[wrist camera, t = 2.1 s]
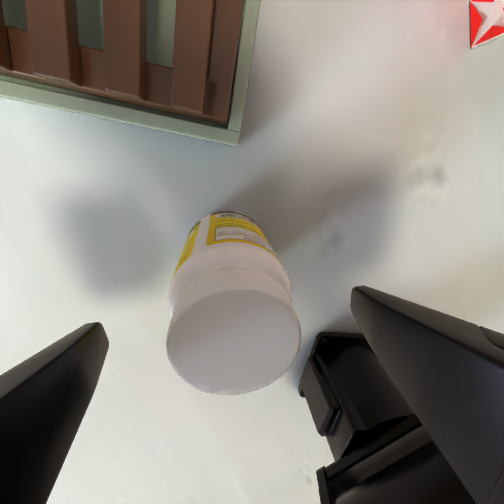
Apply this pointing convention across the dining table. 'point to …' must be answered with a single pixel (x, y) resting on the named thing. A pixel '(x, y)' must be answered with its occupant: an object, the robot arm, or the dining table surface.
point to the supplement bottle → (230, 308)
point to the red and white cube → (486, 21)
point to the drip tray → (157, 52)
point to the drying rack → (130, 55)
